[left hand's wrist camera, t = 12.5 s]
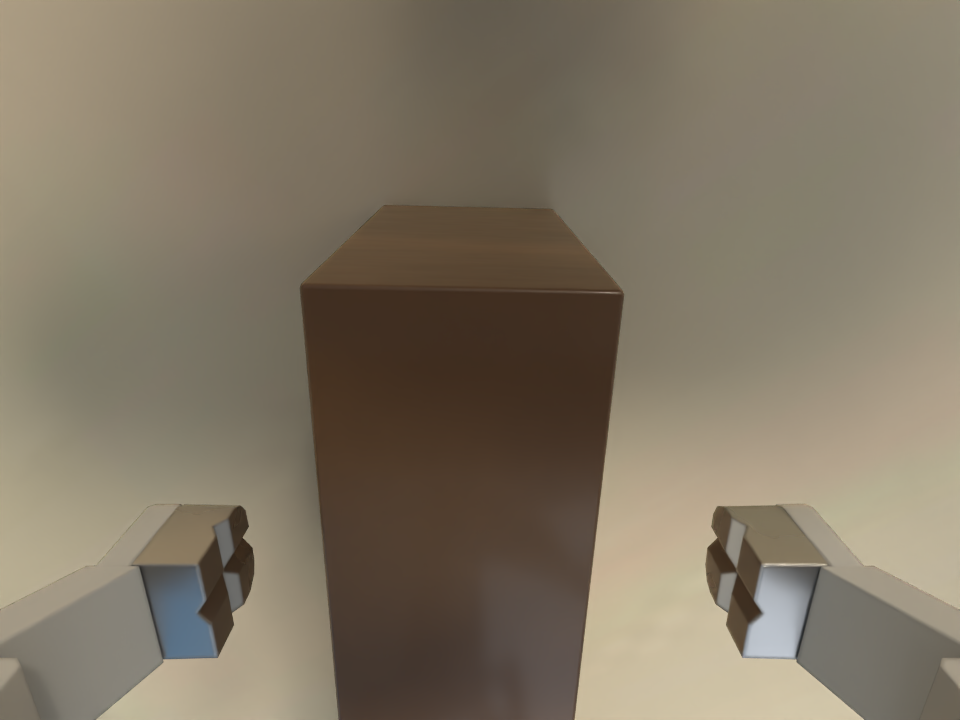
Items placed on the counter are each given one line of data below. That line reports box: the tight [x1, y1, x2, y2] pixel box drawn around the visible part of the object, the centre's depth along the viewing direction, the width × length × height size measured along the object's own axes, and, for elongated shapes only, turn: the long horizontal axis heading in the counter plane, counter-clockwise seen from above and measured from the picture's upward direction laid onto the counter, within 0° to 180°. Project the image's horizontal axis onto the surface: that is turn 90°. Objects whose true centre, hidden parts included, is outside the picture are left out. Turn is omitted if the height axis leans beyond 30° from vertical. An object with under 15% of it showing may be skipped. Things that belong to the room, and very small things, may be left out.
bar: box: [300, 205, 624, 720], centre depth 17 cm, size 25×5×8 cm, turn 179°
